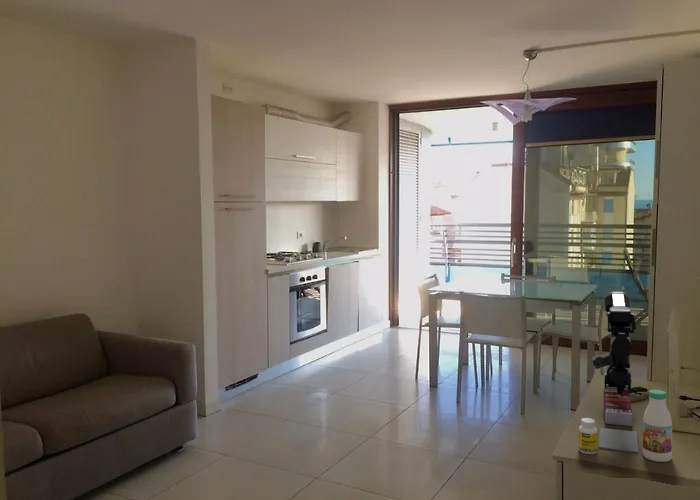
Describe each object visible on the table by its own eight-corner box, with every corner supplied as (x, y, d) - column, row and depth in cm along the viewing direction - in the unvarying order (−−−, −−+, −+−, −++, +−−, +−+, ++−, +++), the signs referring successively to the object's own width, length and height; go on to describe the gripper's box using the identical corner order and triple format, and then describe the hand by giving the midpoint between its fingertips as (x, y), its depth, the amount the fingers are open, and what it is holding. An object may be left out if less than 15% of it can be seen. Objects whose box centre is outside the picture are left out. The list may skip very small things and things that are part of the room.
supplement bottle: (580, 454, 182) (579, 422, 181) (577, 446, 187) (577, 416, 186) (599, 455, 180) (599, 423, 180) (595, 447, 186) (595, 417, 185)
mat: (600, 429, 200) (600, 427, 200) (636, 433, 195) (636, 431, 195) (598, 448, 185) (598, 446, 185) (638, 453, 181) (638, 451, 181)
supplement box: (605, 411, 203) (602, 388, 217) (605, 423, 204) (602, 399, 218) (633, 413, 200) (629, 389, 214) (633, 426, 201) (628, 401, 215)
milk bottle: (641, 450, 183) (642, 386, 181) (670, 453, 180) (671, 388, 178) (643, 460, 176) (643, 394, 174) (673, 464, 173) (674, 397, 171)
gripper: (594, 339, 207) (594, 383, 208) (592, 352, 190) (592, 400, 192) (629, 341, 203) (629, 386, 204) (631, 355, 186) (630, 404, 187)
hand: (619, 393), depth 197 cm, fingers closed
